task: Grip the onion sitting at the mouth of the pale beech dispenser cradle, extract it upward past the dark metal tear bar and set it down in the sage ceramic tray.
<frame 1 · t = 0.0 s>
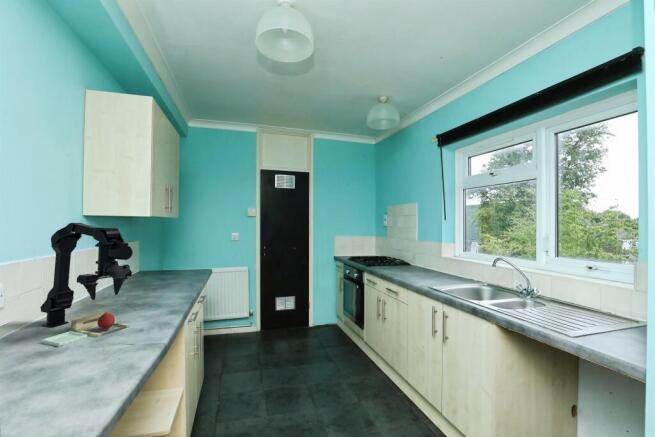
hand: (105, 297, 123), 15 cm above the countertop, fingers open, 9 cm apart
onion: (105, 330, 127), resting in dispenser
tray: (64, 340, 115), on the countertop
dispenser: (103, 329, 127), on the countertop
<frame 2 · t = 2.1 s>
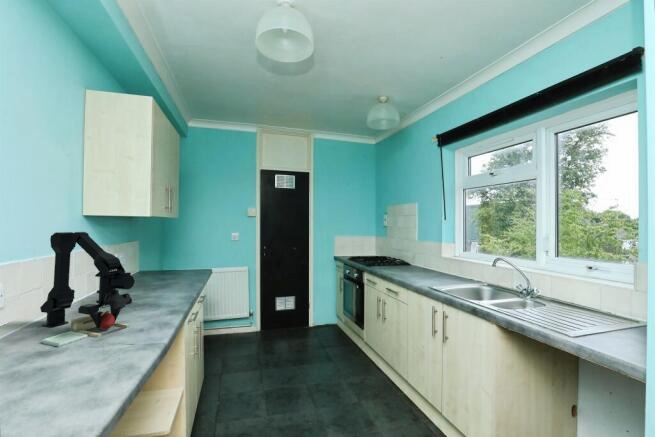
hand: (106, 325, 127), 2 cm above the countertop, fingers closed on onion, 6 cm apart
onion: (105, 330, 127), resting in dispenser, touching gripper
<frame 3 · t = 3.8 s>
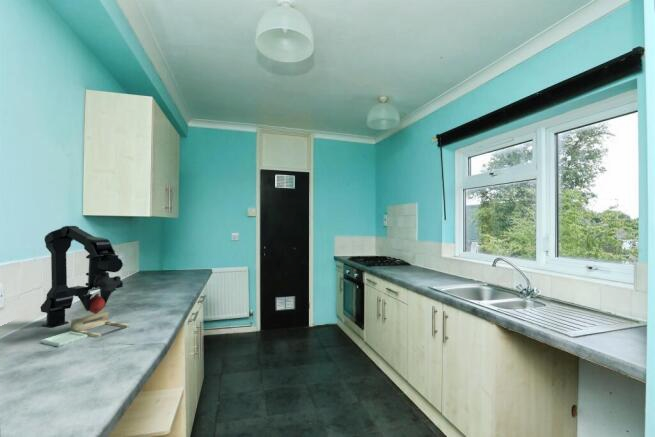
hand: (95, 308, 124), 10 cm above the countertop, fingers closed on onion, 6 cm apart
onion: (95, 314, 124), point 8 cm above the countertop, touching gripper
when the fingers open (4 cm above the countertop, at t = 5.9 s): onion drops 1 cm, resting on tray.
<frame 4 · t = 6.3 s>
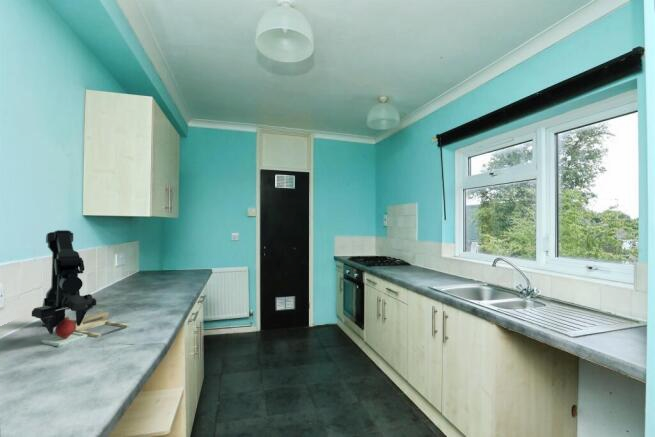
hand: (65, 329, 115), 4 cm above the countertop, fingers open, 9 cm apart
onion: (64, 339, 115), resting on tray
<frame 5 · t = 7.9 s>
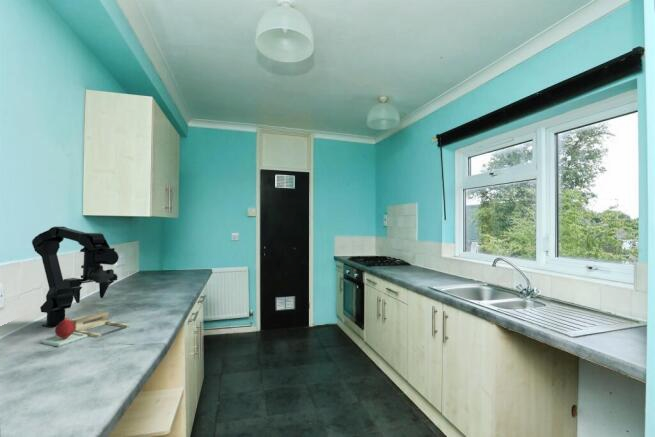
hand: (90, 300, 128), 12 cm above the countertop, fingers open, 9 cm apart
nothing on the countertop moved.
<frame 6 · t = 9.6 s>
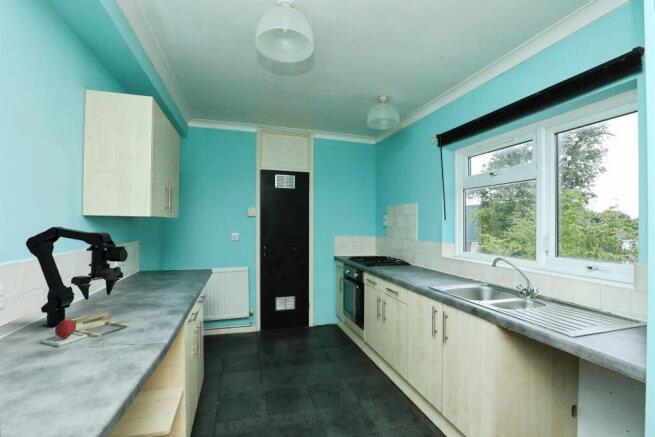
hand: (97, 297, 133), 12 cm above the countertop, fingers open, 9 cm apart
nothing on the countertop moved.
at the end: onion inside the target area on the tray (0.0 cm from its centre), point 0.3 cm above the tray's base; the gripper is holding nothing; onion moved 13.4 cm from its start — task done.
